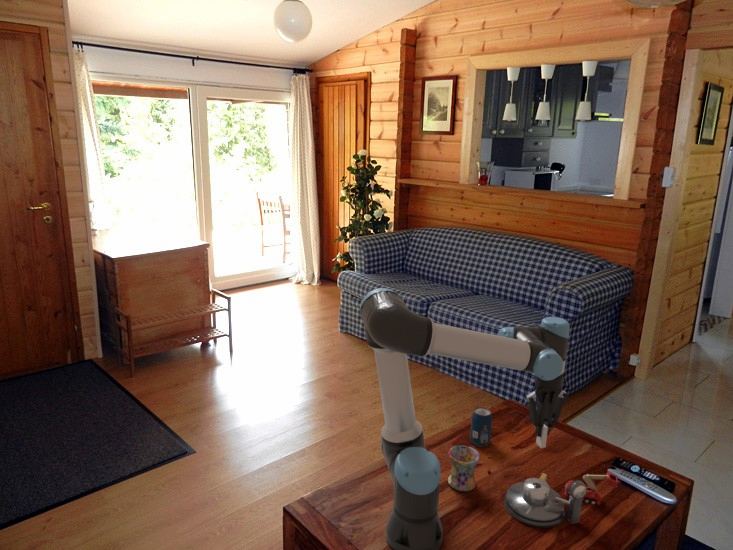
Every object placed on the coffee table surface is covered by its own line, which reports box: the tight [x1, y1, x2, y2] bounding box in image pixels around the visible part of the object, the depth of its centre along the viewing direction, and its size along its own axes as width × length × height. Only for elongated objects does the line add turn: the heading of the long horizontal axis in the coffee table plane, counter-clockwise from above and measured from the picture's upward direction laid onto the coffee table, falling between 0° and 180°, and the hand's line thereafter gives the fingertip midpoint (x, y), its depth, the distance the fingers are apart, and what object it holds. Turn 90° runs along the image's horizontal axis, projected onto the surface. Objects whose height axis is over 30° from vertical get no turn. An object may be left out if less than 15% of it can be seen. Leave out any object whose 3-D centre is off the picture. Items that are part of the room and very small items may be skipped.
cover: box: [523, 477, 551, 507], centre depth 159 cm, size 7×7×5 cm
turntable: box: [506, 472, 566, 523], centre depth 160 cm, size 16×16×6 cm
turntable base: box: [503, 492, 567, 529], centre depth 160 cm, size 17×17×1 cm
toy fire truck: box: [564, 472, 619, 506], centre depth 163 cm, size 3×14×10 cm, turn 68°
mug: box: [447, 445, 481, 492], centre depth 170 cm, size 12×9×11 cm
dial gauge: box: [555, 479, 587, 525], centre depth 155 cm, size 6×5×13 cm
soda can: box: [469, 406, 493, 448], centre depth 192 cm, size 7×7×12 cm
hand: (540, 445), depth 163 cm, fingers closed
